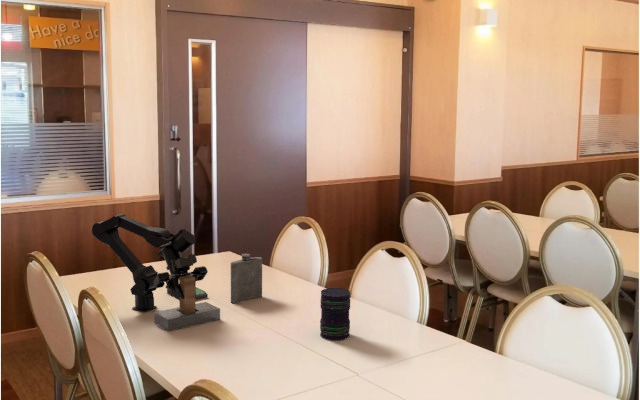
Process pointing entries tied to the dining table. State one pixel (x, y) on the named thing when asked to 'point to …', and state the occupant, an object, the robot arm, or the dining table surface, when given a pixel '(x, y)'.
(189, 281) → the walnut peg
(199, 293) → the disk drive
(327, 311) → the storage jar
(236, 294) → the flask
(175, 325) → the rail block
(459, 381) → the dining table surface
